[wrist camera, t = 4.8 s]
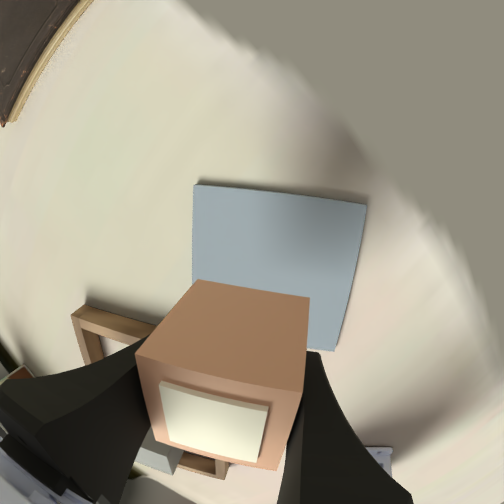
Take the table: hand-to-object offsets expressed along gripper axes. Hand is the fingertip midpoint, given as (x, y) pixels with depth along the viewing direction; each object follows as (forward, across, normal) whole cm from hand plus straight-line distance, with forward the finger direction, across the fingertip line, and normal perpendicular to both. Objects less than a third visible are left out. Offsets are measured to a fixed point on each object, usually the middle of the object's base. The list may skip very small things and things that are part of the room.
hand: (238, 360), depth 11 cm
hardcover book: (+9, +28, -24) cm, 38 cm away
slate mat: (+8, 0, 0) cm, 8 cm away
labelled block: (+2, 0, 0) cm, 2 cm away
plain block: (+8, +9, +20) cm, 23 cm away
